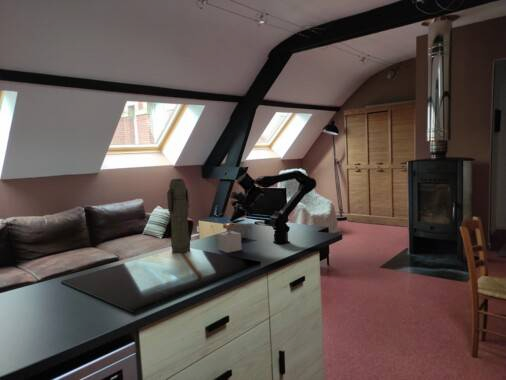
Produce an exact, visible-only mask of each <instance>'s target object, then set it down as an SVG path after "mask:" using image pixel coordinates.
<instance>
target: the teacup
mask: <svg viewBox="0 0 506 380" xmlns="http://www.w3.org/2000/svg"><path fill="white" fill-rule="evenodd" d="M234 224H235V228H230V231H234V232H237V233H241V240H242V239H244V237H245V236H247V235H248V234H249V233H250V232H251V231H252V229H253V228H252V225H251V224H247V225H246V223H242V222H241V223H240V222H239V223H238V222H237V223H234ZM248 227H249V230H247V228H248ZM226 232H228V229H226Z"/></svg>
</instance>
